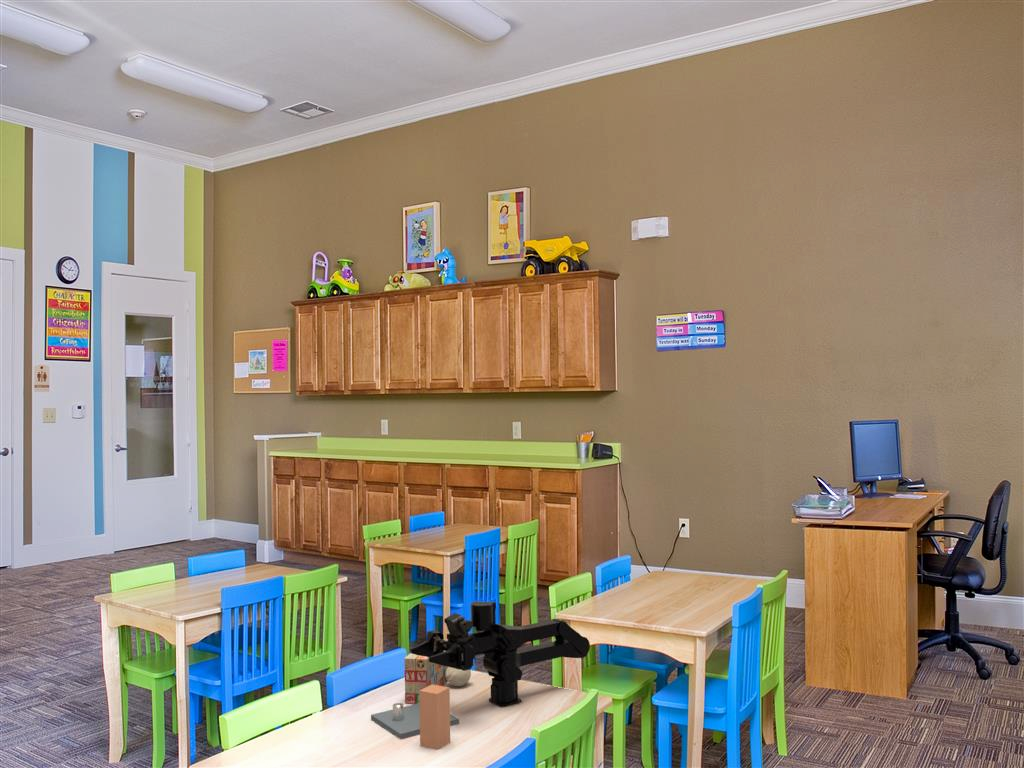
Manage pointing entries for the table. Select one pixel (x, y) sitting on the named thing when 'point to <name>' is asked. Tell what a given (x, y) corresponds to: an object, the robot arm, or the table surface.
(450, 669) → the baseball
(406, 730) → the slate board
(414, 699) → the stack of blocks
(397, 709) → the steel post
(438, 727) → the tall peach square pillar
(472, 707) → the table surface
